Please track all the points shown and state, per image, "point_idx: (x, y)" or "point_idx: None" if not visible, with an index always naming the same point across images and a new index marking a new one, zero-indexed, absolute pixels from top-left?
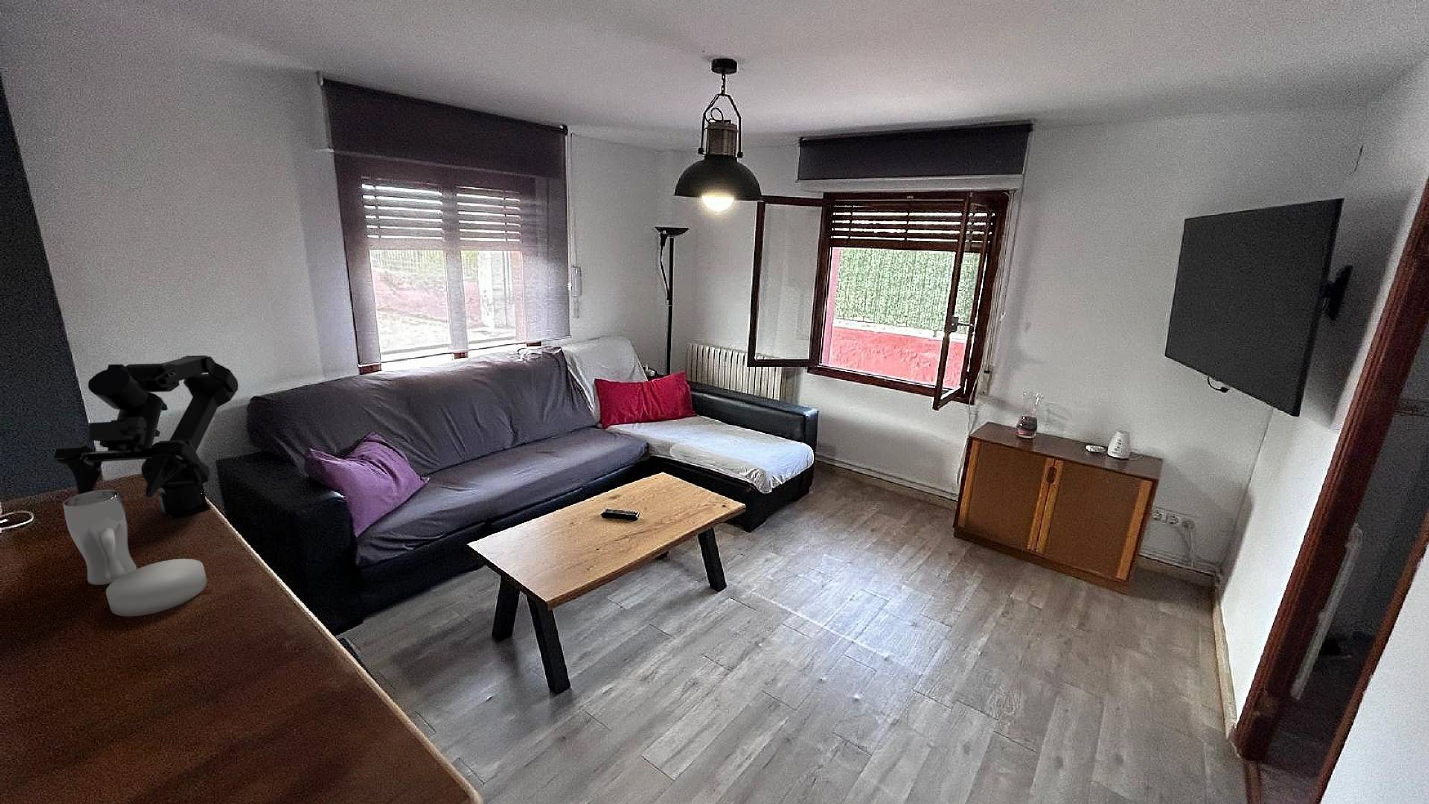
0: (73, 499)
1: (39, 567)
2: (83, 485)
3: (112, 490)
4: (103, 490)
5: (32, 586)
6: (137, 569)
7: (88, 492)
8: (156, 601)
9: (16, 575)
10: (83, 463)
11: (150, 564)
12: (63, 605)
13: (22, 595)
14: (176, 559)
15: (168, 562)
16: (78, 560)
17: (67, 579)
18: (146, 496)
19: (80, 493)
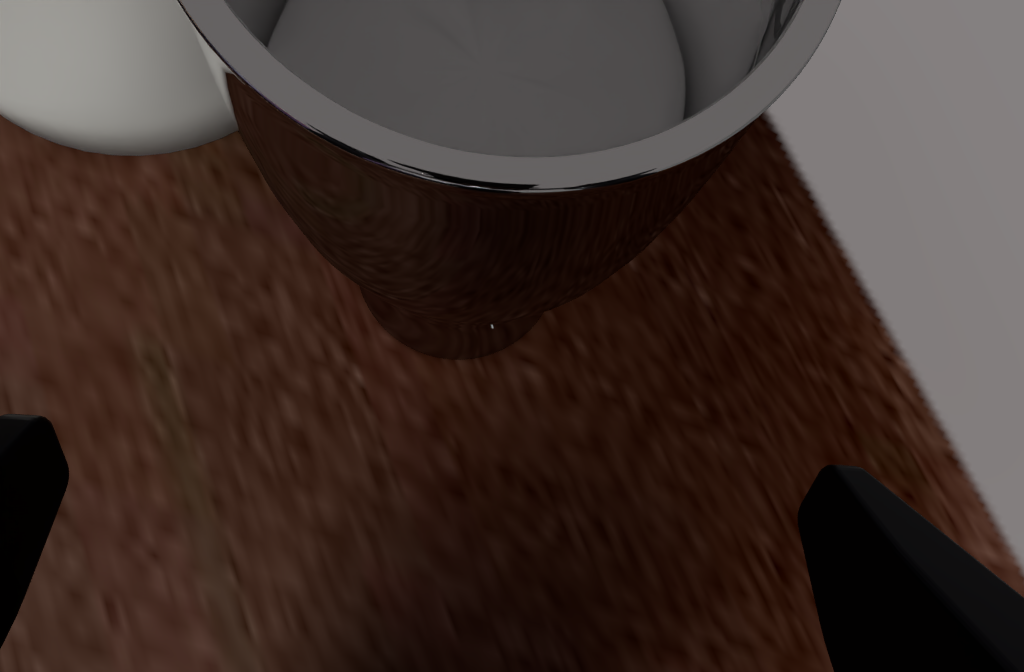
0: (799, 2)
1: None
2: (1001, 655)
3: (301, 94)
4: (474, 156)
5: (782, 265)
6: None
7: (687, 122)
8: None
9: (923, 416)
10: None
11: (187, 87)
12: None
13: (774, 185)
14: (46, 104)
15: (84, 77)
16: (720, 511)
17: (661, 289)
18: (53, 433)
19: (926, 535)
